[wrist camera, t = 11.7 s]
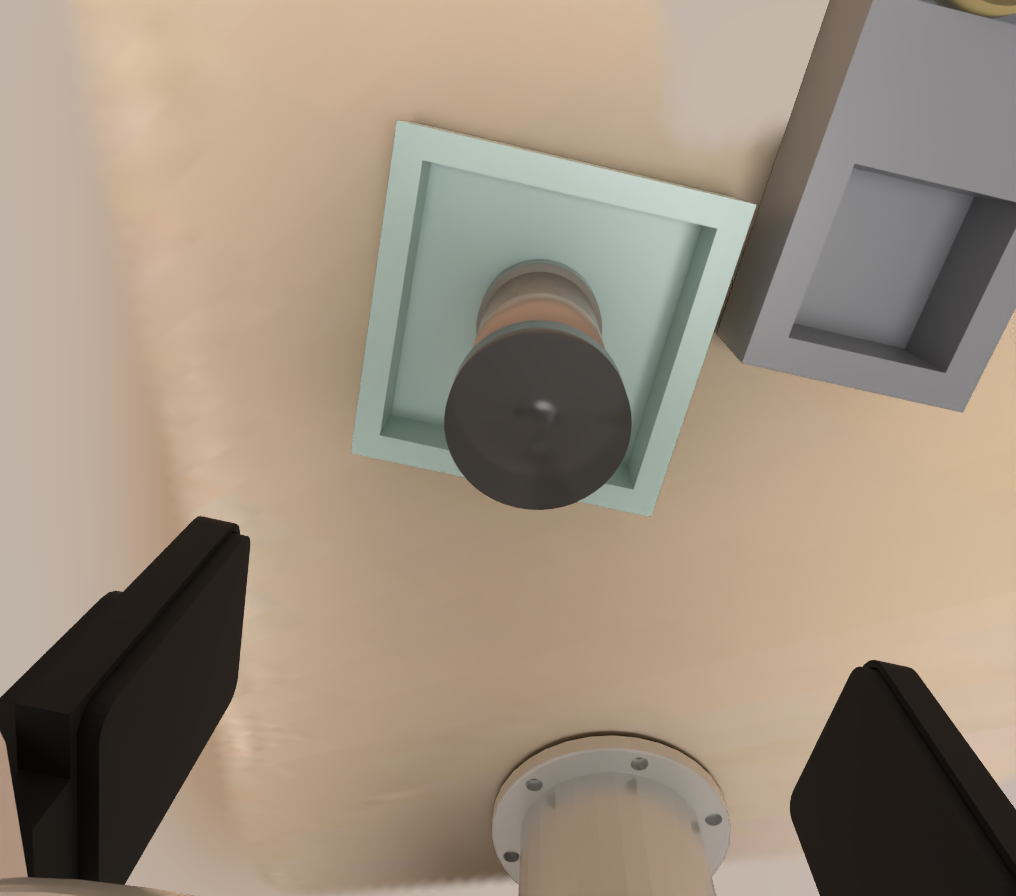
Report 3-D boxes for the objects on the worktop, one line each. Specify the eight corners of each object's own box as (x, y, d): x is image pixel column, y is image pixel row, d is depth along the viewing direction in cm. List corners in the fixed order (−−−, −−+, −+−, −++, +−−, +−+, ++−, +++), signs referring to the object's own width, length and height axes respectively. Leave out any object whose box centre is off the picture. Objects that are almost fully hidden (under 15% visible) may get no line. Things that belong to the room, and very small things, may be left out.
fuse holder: (909, 377, 29) (962, 412, 25) (716, 333, 29) (741, 363, 25) (1168, -182, 22) (1294, -245, 18) (914, -250, 21) (991, -328, 18)
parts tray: (641, 483, 31) (651, 516, 29) (367, 424, 31) (350, 453, 28) (734, 196, 27) (756, 204, 24) (412, 121, 26) (396, 120, 23)
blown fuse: (582, 388, 29) (603, 525, 19) (469, 363, 29) (429, 489, 19) (613, 274, 27) (655, 358, 17) (492, 246, 27) (463, 316, 17)
